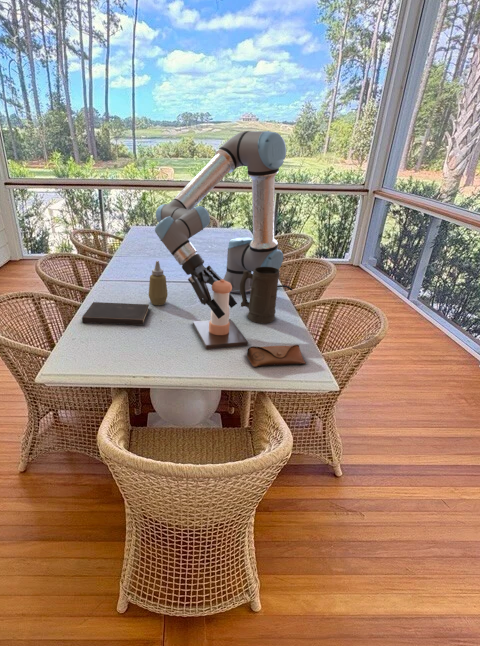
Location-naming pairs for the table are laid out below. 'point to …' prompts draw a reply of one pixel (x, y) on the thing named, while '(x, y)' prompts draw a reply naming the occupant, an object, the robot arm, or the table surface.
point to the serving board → (219, 336)
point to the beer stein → (261, 294)
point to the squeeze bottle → (157, 286)
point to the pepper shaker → (222, 299)
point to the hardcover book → (116, 313)
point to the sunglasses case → (275, 355)
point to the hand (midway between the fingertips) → (228, 311)
